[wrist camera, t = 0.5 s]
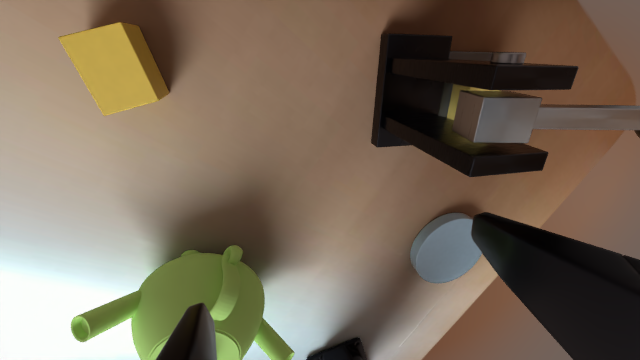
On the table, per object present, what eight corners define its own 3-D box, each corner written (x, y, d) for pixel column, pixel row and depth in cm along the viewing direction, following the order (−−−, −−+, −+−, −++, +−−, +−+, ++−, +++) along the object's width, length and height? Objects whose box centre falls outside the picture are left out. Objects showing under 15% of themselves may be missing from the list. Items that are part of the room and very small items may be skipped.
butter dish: (493, 52, 24) (519, 52, 21) (475, 126, 26) (497, 133, 24) (445, 51, 23) (468, 51, 20) (432, 128, 25) (450, 136, 23)
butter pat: (169, 93, 19) (158, 100, 16) (122, 106, 19) (103, 116, 16) (138, 25, 17) (120, 21, 15) (85, 38, 17) (57, 37, 14)
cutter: (442, 36, 22) (598, 28, 13) (424, 140, 25) (538, 196, 16) (380, 34, 21) (501, 23, 11) (370, 143, 24) (457, 206, 15)
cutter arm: (685, 83, 17) (766, 91, 14) (658, 139, 18) (726, 157, 15) (458, 79, 16) (492, 86, 13) (446, 137, 17) (474, 155, 14)
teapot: (247, 208, 24) (252, 282, 16) (287, 304, 29) (304, 394, 21) (104, 256, 22) (37, 361, 15) (172, 348, 28) (148, 460, 20)
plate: (477, 260, 33) (485, 267, 32) (413, 285, 32) (419, 293, 31) (478, 201, 30) (487, 207, 29) (406, 228, 29) (412, 235, 28)
